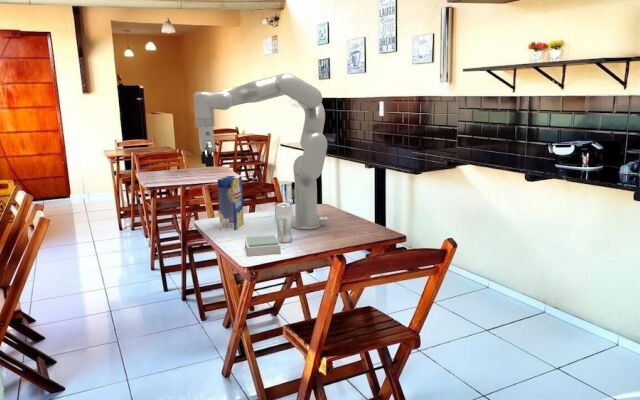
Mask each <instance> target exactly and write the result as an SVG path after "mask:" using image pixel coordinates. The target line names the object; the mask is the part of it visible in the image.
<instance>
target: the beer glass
mask: <svg viewBox="0 0 640 400" xmlns="http://www.w3.org/2000/svg"><path fill="white" fill-rule="evenodd" d="M274 205H275V208H274V219H275V225H276V229H277V237H276V238H277V240H278V242H279V244H288V243H291V242H292V241H293V237H292V224H293V217H294V216H293V205H292V203H289V202H278V203H276V204H274Z"/></svg>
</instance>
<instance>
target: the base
mask: <svg viewBox="0 0 640 400" xmlns="http://www.w3.org/2000/svg"><path fill="white" fill-rule="evenodd" d="M244 248H245V251H246V254H247V257H255V256H268V255H269V256H270V255H280V254H281V250H282V249H281V243H279V242H278V240H277V237H276V236H275V234H273V235H258V236H257V235H256V236H247V237H246V238H244Z"/></svg>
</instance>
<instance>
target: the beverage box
mask: <svg viewBox="0 0 640 400" xmlns="http://www.w3.org/2000/svg"><path fill="white" fill-rule="evenodd" d="M242 178H243V177H242V175H241V176H240V175H226V176H224V177H221V178H218V179H217V194H218V211H219V213H218V214H219V215H218V216H219V230H220V231H236V230H238V229H239V228H241V227H242V226H243V225H245V223H244V222H245V220H244V200H243V199H244V198H243V179H242Z"/></svg>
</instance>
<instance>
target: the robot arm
mask: <svg viewBox="0 0 640 400" xmlns="http://www.w3.org/2000/svg"><path fill="white" fill-rule="evenodd" d="M282 96H288V98H290V99H292V100H294V101H296V102H297V103H298V104H299V106H301V108H302V109H303V111H304V123H303V127H302V133H301V136H300V141H299V143H300V144H299V145H300V147H301V148H302V150H303V154H301V155H298V156H297V157H296V159H294V161H293V166H292V171H293V176H294V177H293V178H294V200H295V201H294V204H295V207H294V208H295V209H294V211H295V215H294V216H295V221H294V222H292V226H291V228H293V229H297V230H303V231H306V230H307V231H308V230H311V231H312V230H317V229H319V228H321V226H322V225H321V223H323V222H324V223H325V222H326V223H328V221H329V218H328V217H327V216H325V217H324V216H318V188H317V187H318V186H317V184H318V183H317V179H318V178H319V177H320V176H321V174H322V172H323V169H324V164H325V160H326V157H327V156H326V155H327V150H328V139H327V137H326V136H325V135H324V134H323V132H324V126H325V122H326V112H325V108H324V105H323V103H322V102H323V94H322V93H321V91H320V90H319V88H317V87H315V86H314V85H312V84H310V83H308V82H307V81H305V80H303V79H301V78H300V77H297V76H296V75H294V74H292V73H280V74H277V75H273V76H270V77H264V78H261V79H258V80H257V79H256V80H253V81H250V82H247V83H245V84H241V85H238V86H233V87H230V88H227V89H220V90H217V91H211V92H210V91H195V92H194V93H193V105H194V107H193V108H194V118H195V120H194V121H195V128H198V141H199V149H200V152H201V153H200V157H201V159H200V160H201V164H202V165H203V164H204V165H205V167H207V168H209V167H210V168H212V167H215V162H214V158H215V157H214V153H213V152H215V151H216V141H215V132H214V127H215V110H219V111H220V110H222V111H226V110H229V109H230V108H232V107H236V106H240V105H245V104H251V103H252V104H253V103H259V102H263V101H267V100H270V99H271V100H272V99H274V98H278V97H282Z"/></svg>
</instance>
